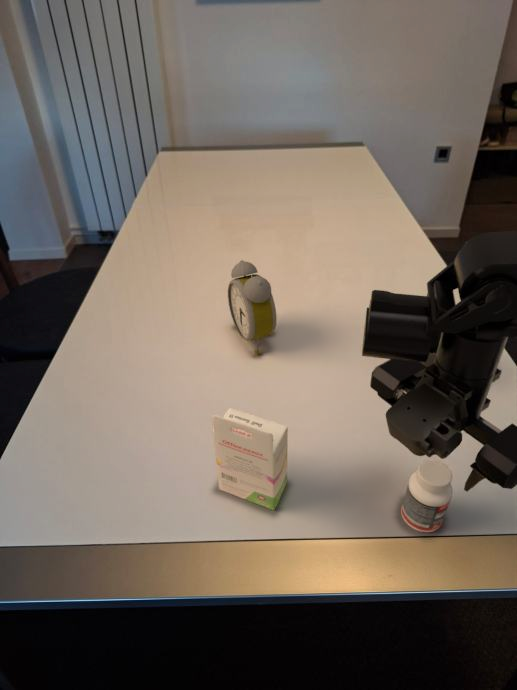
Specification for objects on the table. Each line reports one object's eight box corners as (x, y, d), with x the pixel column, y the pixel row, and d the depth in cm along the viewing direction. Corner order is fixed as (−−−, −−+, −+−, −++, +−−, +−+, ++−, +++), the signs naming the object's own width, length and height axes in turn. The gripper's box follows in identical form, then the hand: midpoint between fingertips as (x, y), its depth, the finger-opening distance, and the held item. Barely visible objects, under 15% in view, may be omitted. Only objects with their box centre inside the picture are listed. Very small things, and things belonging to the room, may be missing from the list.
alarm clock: (228, 326, 99) (224, 259, 89) (260, 318, 101) (259, 251, 91) (251, 360, 90) (249, 289, 81) (285, 350, 92) (286, 280, 83)
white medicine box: (288, 483, 69) (291, 408, 60) (274, 512, 65) (275, 436, 56) (233, 463, 72) (227, 388, 63) (216, 489, 68) (208, 414, 59)
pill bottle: (435, 540, 62) (451, 498, 56) (394, 521, 64) (406, 478, 59) (447, 509, 65) (463, 466, 60) (408, 491, 68) (420, 448, 62)
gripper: (341, 345, 52) (331, 444, 61) (500, 460, 39) (456, 561, 49) (413, 309, 57) (394, 406, 66) (575, 402, 44) (522, 504, 54)
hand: (435, 462), depth 59 cm, fingers open, 9 cm apart
